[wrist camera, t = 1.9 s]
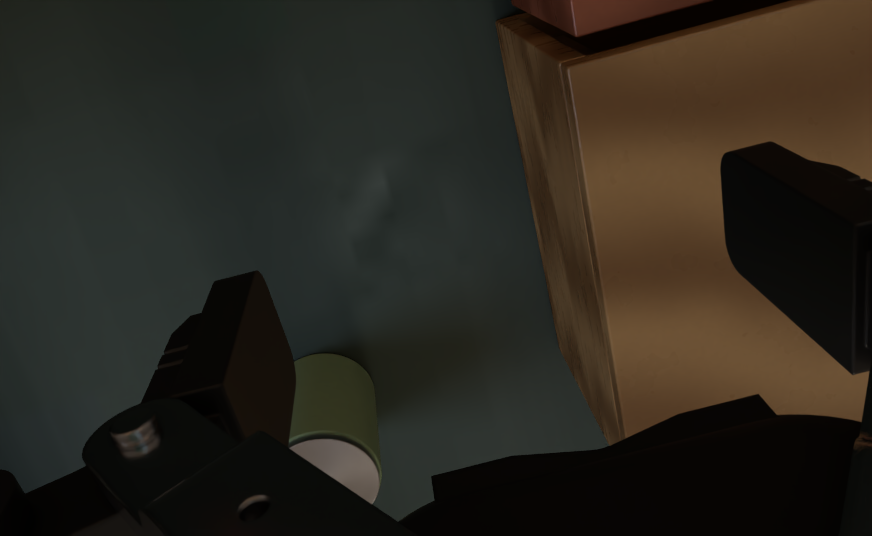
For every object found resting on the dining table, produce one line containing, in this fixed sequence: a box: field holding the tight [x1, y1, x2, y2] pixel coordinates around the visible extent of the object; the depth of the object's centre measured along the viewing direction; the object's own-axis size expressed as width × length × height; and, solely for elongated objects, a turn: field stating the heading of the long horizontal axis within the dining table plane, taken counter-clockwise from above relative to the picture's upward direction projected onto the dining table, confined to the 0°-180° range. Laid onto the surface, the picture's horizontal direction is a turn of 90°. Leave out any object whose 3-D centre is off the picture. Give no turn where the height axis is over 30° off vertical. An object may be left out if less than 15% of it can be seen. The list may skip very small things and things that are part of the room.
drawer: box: [511, 0, 791, 56], centre depth 26 cm, size 20×12×8 cm, turn 13°
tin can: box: [288, 353, 382, 504], centre depth 33 cm, size 5×5×6 cm
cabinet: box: [495, 0, 872, 445], centre depth 28 cm, size 16×13×10 cm
